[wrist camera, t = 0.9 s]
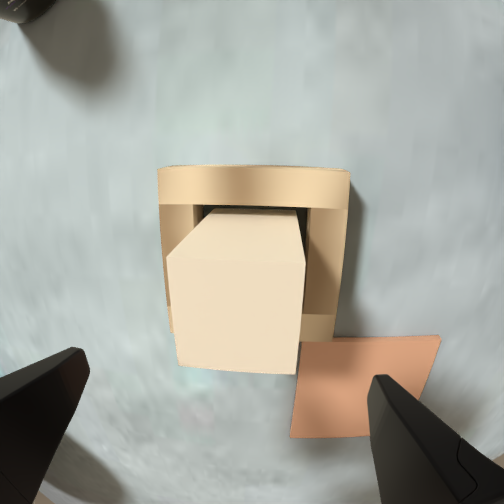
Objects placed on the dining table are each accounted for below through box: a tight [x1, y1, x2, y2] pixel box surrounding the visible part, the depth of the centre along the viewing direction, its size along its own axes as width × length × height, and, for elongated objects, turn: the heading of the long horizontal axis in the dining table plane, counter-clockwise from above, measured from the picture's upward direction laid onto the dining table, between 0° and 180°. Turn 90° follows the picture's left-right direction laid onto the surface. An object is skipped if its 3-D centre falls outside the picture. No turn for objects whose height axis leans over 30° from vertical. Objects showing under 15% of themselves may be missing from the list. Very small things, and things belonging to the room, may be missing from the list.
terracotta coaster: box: [290, 335, 441, 438], centre depth 24 cm, size 11×11×1 cm
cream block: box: [166, 208, 306, 374], centre depth 16 cm, size 5×5×9 cm
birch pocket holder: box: [158, 165, 350, 342], centre depth 19 cm, size 10×10×2 cm
